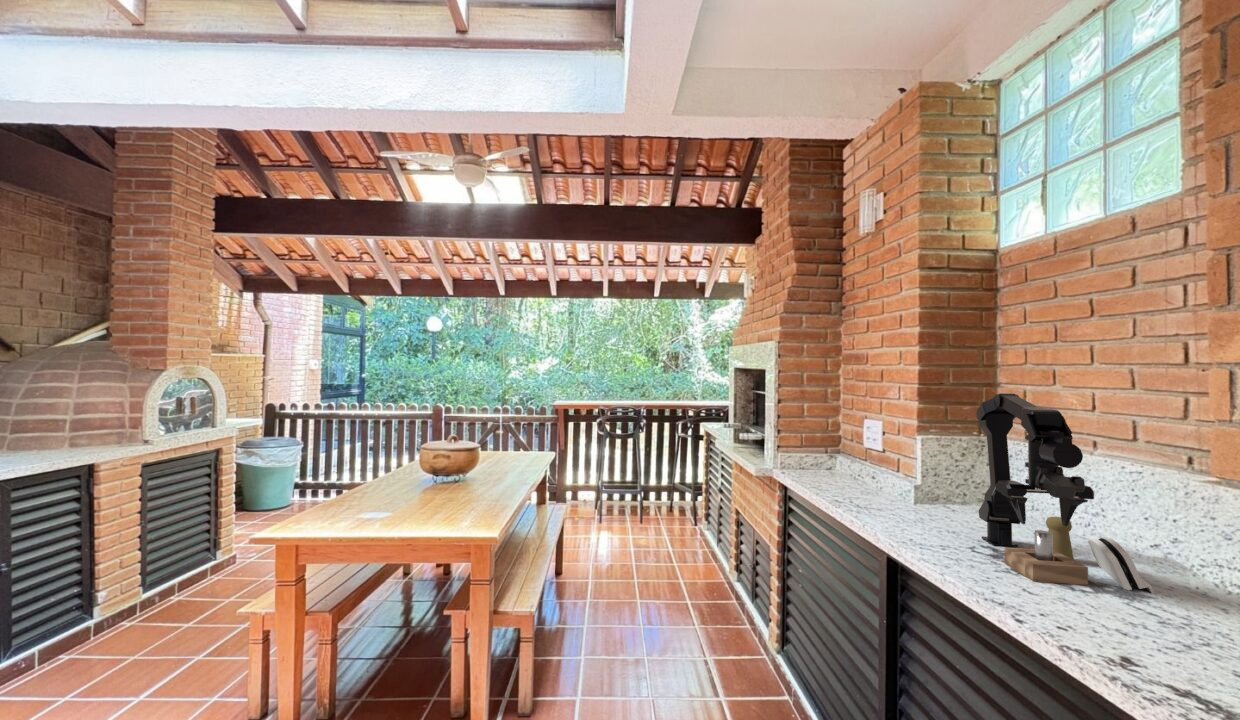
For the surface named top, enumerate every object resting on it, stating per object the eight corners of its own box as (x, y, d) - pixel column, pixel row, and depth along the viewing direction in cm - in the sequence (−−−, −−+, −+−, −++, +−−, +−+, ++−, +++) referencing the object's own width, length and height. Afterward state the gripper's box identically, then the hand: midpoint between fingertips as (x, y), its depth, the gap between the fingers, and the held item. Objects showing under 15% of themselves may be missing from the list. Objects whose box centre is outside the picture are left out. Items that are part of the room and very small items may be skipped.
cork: (1047, 561, 135) (1047, 518, 135) (1041, 554, 140) (1041, 513, 140) (1077, 565, 132) (1077, 522, 132) (1070, 558, 137) (1070, 516, 137)
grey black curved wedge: (1155, 594, 115) (1134, 549, 117) (1128, 597, 117) (1108, 553, 119) (1124, 568, 130) (1105, 528, 132) (1100, 571, 132) (1083, 532, 134)
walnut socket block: (1004, 563, 133) (1004, 547, 133) (1054, 566, 131) (1054, 550, 131) (1033, 581, 122) (1032, 564, 122) (1088, 584, 120) (1087, 567, 120)
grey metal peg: (1031, 570, 129) (1031, 529, 129) (1047, 571, 128) (1046, 530, 128) (1040, 575, 125) (1040, 534, 125) (1056, 576, 125) (1056, 535, 125)
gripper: (1021, 465, 120) (1021, 532, 120) (1112, 468, 118) (1113, 537, 117) (994, 457, 131) (994, 519, 131) (1076, 459, 129) (1077, 523, 128)
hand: (1043, 524), depth 127 cm, fingers open, 9 cm apart
